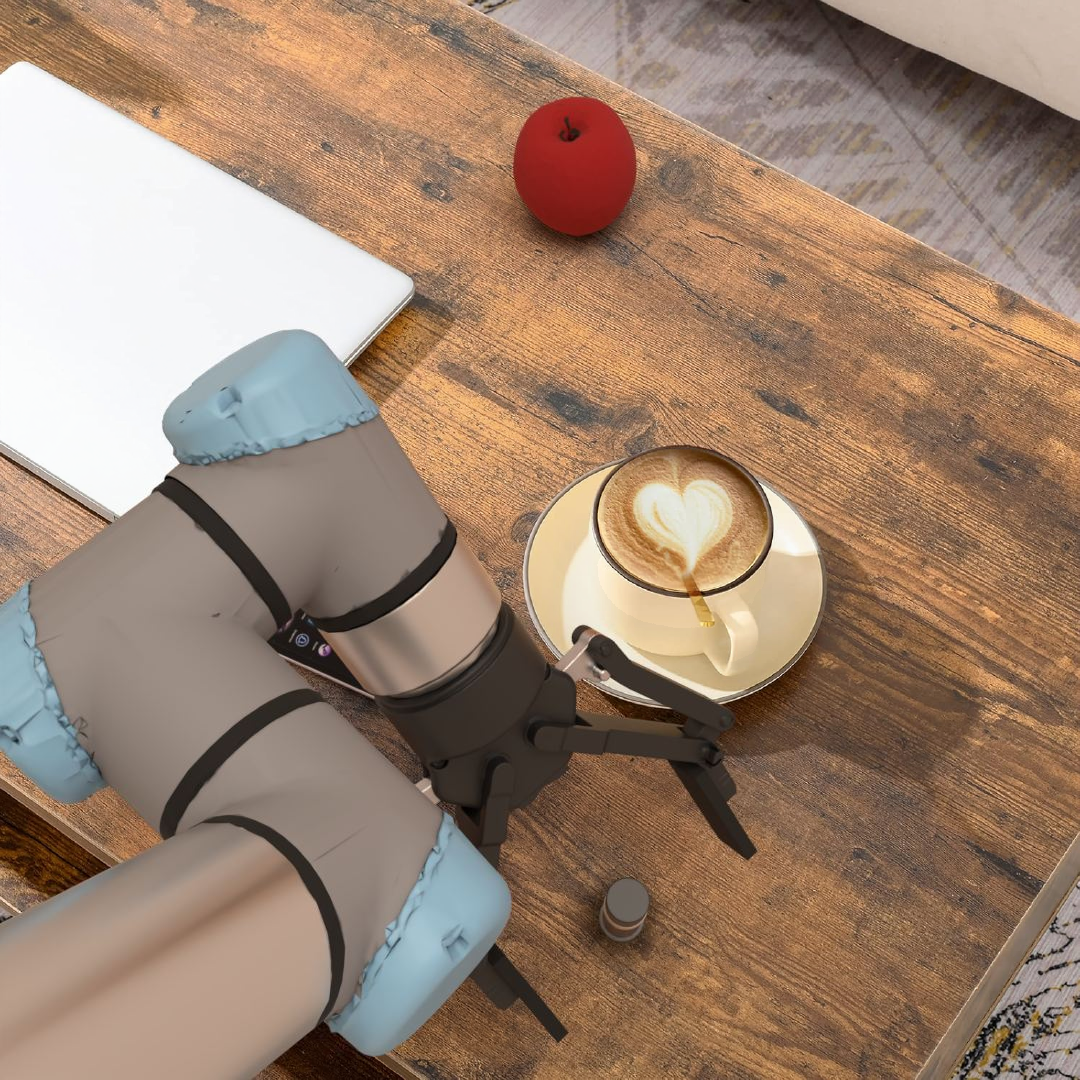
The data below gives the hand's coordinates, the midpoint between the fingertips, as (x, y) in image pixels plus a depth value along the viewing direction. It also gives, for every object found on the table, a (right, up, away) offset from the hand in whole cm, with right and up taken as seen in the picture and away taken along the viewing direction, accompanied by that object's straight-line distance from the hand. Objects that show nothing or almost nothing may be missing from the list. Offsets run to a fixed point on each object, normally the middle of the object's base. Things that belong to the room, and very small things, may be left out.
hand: (647, 932), depth 62 cm
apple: (-3, +46, +26) cm, 53 cm away
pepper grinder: (-1, -1, +5) cm, 5 cm away
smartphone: (-20, +16, +13) cm, 29 cm away
